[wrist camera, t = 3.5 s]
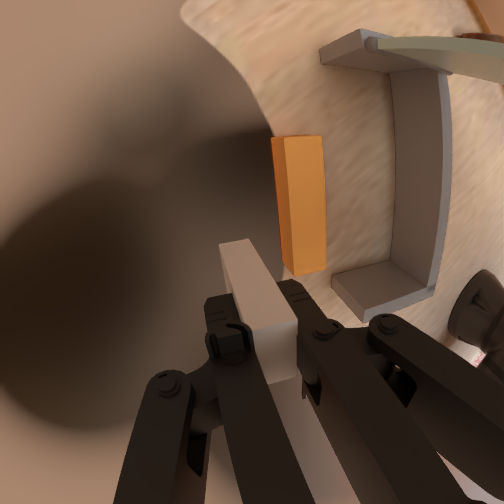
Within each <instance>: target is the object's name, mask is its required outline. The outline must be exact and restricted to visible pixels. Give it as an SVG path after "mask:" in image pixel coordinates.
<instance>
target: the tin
mask: <svg viewBox="0 0 504 504" xmlns="http://www.w3.org/2000/svg"><path fill="white" fill-rule="evenodd" d="M462 36H463V38H468V39H478V40H485V41H492V42H498V43H504V36H502V35H497V34H489V33H466V34H462Z"/></svg>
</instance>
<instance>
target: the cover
mask: <svg viewBox="0 0 504 504" xmlns="http://www.w3.org/2000/svg"><path fill="white" fill-rule="evenodd" d="M365 48H366V50H367V52H369V53H372V54H377V55H381V56H385V57H390V58H394V59H398V60H402V61H405V62H409V63H412V64H416V65H419V66H422V67H425V68H428V69H431V70H434V71H437V72H440V73H443V74H445V75H448V76H450V75H452V74H453V73H455V74H460V75H465V76H470V77H475V78H479V79H484V80H488V81H492V82H495V83H499V84H502V85H504V43H498V42H492V41H485V40H478V39H468V38H456V37H430V36H422V37H395V38H382V39H381V38H377V37H373V36H369V37H367V39H366V41H365Z"/></svg>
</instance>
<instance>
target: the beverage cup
mask: <svg viewBox="0 0 504 504" xmlns="http://www.w3.org/2000/svg"><path fill="white" fill-rule="evenodd" d="M484 357H485V356H483V355H482V354H481V353H480V352H478V353H477V354H476V355H475V356H474V357H473V359H472V360H471V362H470V364H472V365H473V366H475V367H477V366H478V365H479V363H480V362H481V361H482V360H483V358H484Z"/></svg>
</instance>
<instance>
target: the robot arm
mask: <svg viewBox="0 0 504 504" xmlns="http://www.w3.org/2000/svg"><path fill="white" fill-rule="evenodd" d="M219 249H220V255H221V261H222V266H223V272H224V278H225V283H226V289H227V293H228V294H224V295H220V296H215V297H210V298H208V299H207V300H206V303H205V305H204V312H205V318H206V325H207V331H208V332H207V333H206V336H205V343H206V347H207V350H208V353H209V356H210V357H209V359H208V360H207V362H206V363H205V364H204V365H203V366H202V367H200V368H199V369H197V370H195V371H193V372H191V373H189V374H187V375H186V374H185V373H183V372H181V371H177V370H166V371H163V372H160V373H158V374H156V375H155V376H154V377H153V378H151V379H150V381H149V383H148V384H147V387H146V390H145V393H144V396H143V399H142V402H141V405H140V409H139V411H138V415H137V418H136V421H135V424H134V428H133V431H132V434H131V438H130V441H129V445H128V448H127V452H126V455H125V459H124V462H123V466H122V470H121V474H120V477H119V481H118V486H117V490H116V494H115V497H114V502H113V504H204V500H205V491H206V479H207V470H208V461H209V451H210V442H211V433H212V430H213V429H215V428H217V427H219V426H221V425H224V430H225V434H226V439H227V443H228V447H229V452H230V455H231V460H232V464H233V468H234V472H235V476H236V479H237V483H238V487H239V490H240V494H241V498H242V502H243V504H315V502H314V499H313V497H312V494H311V492H310V490H309V487H308V485H307V483H306V480H305V478H304V475H303V473H302V471H301V468H300V466H299V463H298V461H297V459H296V456H295V454H294V451H293V449H292V446H291V444H290V441H289V439H288V437H287V434H286V431H285V429H284V426H283V424H282V421H281V418H280V416H279V413H278V411H277V408H276V405H275V403H274V400H273V397H272V395H271V392H270V390H269V387H268V384H271V383H275V382H279V381H283V380H286V379H290V378H293V377H296V376H298V369H299V370H300V373H301V375H302V398H303V399H305V398H306V395H307V397H308V399H309V401H310V403H311V405H312V406H313V409H314V411H315V413H316V415H317V417H318V419H319V421H320V423H321V425H322V427H323V429H324V431H325V433H326V435H327V438H328V440H329V441H330V444H331V445H332V448H333V450H334V452H335V454H336V456H337V458H338V460H339V462H340V464H341V466H342V468H343V470H344V471H345V474H346V476H347V478H348V480H349V481H350V484H351V486H352V488H353V490H354V491H355V494H356V495H357V497H358V499H359V501H360V503H361V504H487V503H485V502H483V501H477V500H472V499H470V498H468V497H467V496H466V495H465V494H464V492H463V490H462V489H461V487H460V486H459V484H458V483H457V481H456V480H455V478H454V477H453V475H452V474H451V472H450V471H449V469H448V468H447V466H446V465H445V463H444V462H443V461H442V459H441V458H440V456H439V455H438V454H437V452H438V453H439V454H440V455H441V456H443V457H444V458H445V459H446V460H448V461H449V462H450V463H451V464H452V465H454V466H455V467H456V468H457V469H459V470H460V471H461V472H462V473H464V474H465V475H466V476H467V477H468V478H470V479H471V480H472V481H473V482H475V483H476V484H477V485H479V486H480V487H481V488H482V489H484V490H485V491H486V492H488V493H489V494H491V495H492V496H494V497H495V498H497V499H499V500H502V501H504V287H503V286H502V285H501V283H500V282H499V280H498V279H497V278H496V276H495V275H493V274H492V273H490V272H489V271H487V270H483V271H481V272H479V273H478V274H477V275H476V276H474V278H473V279H472V280H471V281H470V282H469V283H468V285H467V286H466V287H465V289H464V290H463V292H462V294H461V295H460V297H459V299H458V301H457V302H456V304H455V307H454V309H453V311H452V314H451V317H450V320H449V325H448V330H449V332H450V334H452V335H453V336H454V337H455V338H456V339H458V340H461V341H463V342H465V343H468V344H471V345H473V346H476V347H478V348H479V349H481V350H482V351H483V352H484V353H485V354H486V356H485V357H484V358H483V360H482V361H481V362H480V363H479V365H478V366H477V367H475V366H473V365H472V364H470V363H469V362H467V361H466V360H465V359H463V358H462V357H460V356H459V355H457V354H456V353H454V352H453V351H451V350H450V349H448V348H447V347H445V346H444V345H442V344H441V343H439V342H438V341H436V340H434V339H433V338H431V337H430V336H428V335H427V334H425V333H424V332H422V331H421V330H419V329H418V328H416V327H415V326H413V325H411V324H410V323H408V322H407V321H405V320H404V319H402V318H401V317H399V316H396V315H394V314H388V313H384V314H378V315H376V316H374V317H373V318H372V319H371V320H370V322H369V326H368V327H361V328H345V327H344V326H343V325H342V324H341V323H339V322H338V321H335V320H333V319H327V317H326V316H325V315H324V313H323V312H322V311H321V309H320V308H319V307H318V305H317V304H316V303H315V301H314V300H313V299H312V298H311V296H310V295H309V293H308V292H307V291H306V289H305V288H304V287H303V285H302V284H301V283H299V282H297V281H295V280H293V279H289V280H285V281H280V282H276V283H275V281H274V279H273V278H272V276H271V274H270V273H269V271H268V270H267V268H266V266H265V265H264V263H263V262H262V260H261V258H260V257H259V255H258V253H257V252H256V250H255V248H254V247H253V245H252V243H251V242H250V240H249V239H244V240H238V241H233V242H228V243H223V244H219ZM395 365H397V366H398V367H399V368H397V367H396V366H395ZM436 451H437V452H436Z"/></svg>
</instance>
